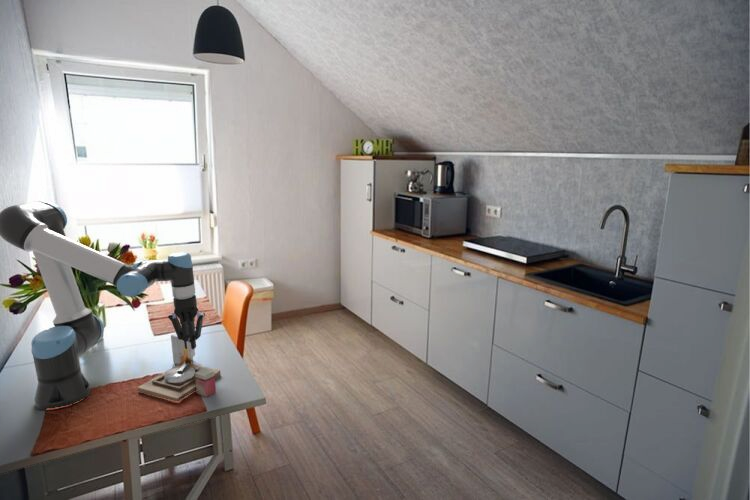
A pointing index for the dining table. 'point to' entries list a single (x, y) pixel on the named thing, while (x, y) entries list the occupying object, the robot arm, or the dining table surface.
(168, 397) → the beige square board
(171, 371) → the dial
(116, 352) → the dining table surface
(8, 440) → the dining table surface
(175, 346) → the skincare box
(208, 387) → the small box
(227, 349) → the dining table surface
